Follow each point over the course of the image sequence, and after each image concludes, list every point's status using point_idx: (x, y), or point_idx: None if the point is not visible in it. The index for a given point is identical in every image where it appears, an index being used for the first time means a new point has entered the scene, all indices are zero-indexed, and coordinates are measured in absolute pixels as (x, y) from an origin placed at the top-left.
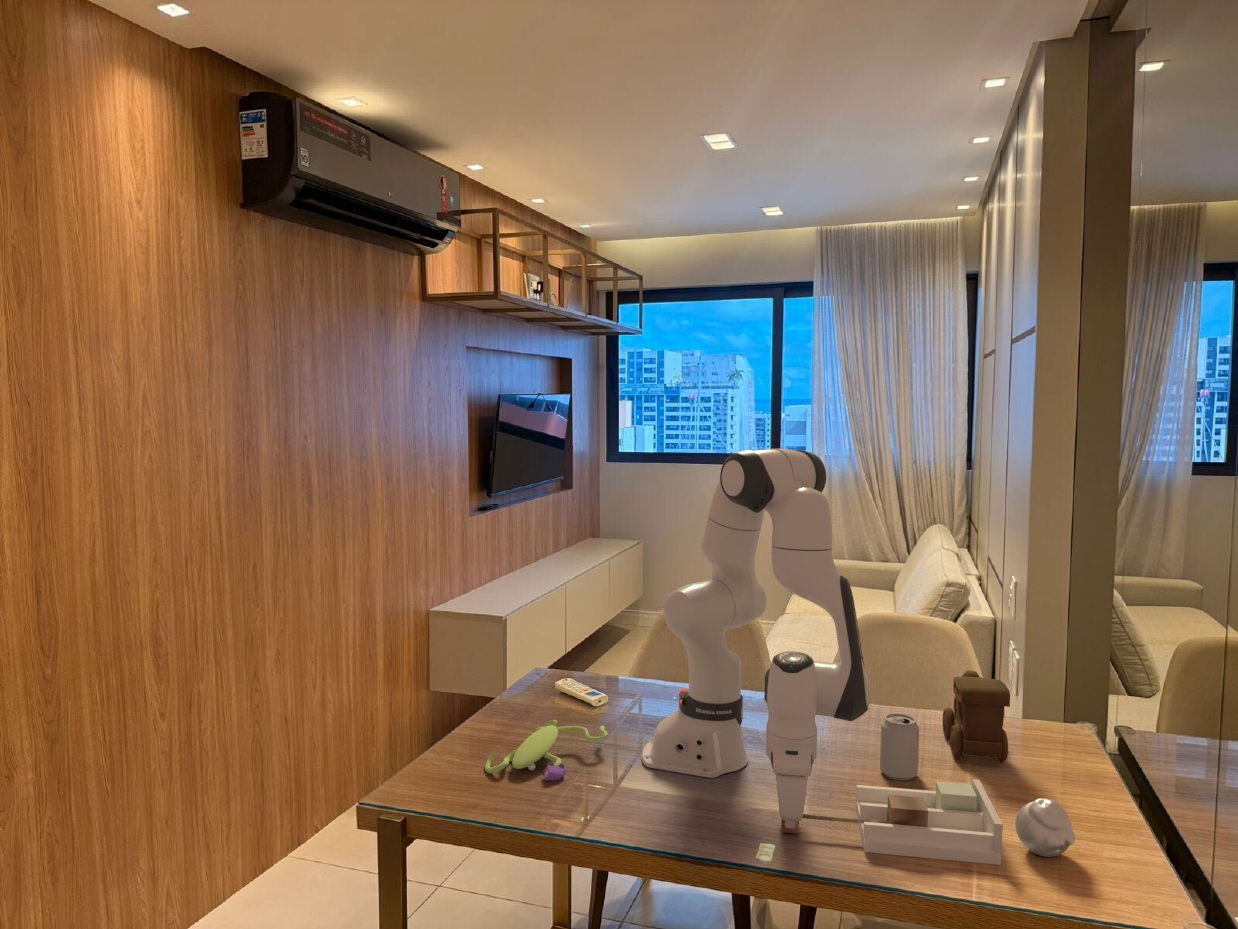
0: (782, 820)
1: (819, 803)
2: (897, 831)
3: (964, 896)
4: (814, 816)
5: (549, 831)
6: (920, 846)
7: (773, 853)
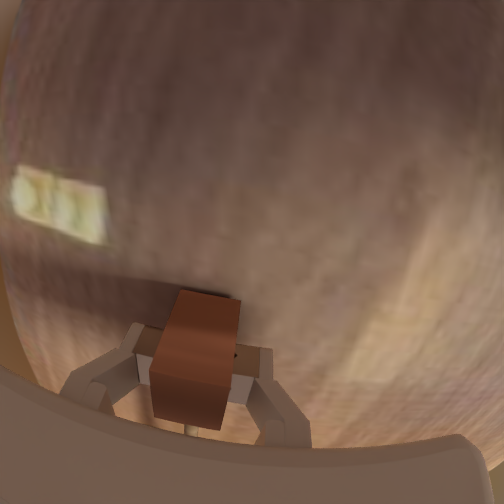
0: (166, 327)
1: (385, 405)
2: None
3: None
4: (185, 424)
5: None
6: None
7: (48, 229)
